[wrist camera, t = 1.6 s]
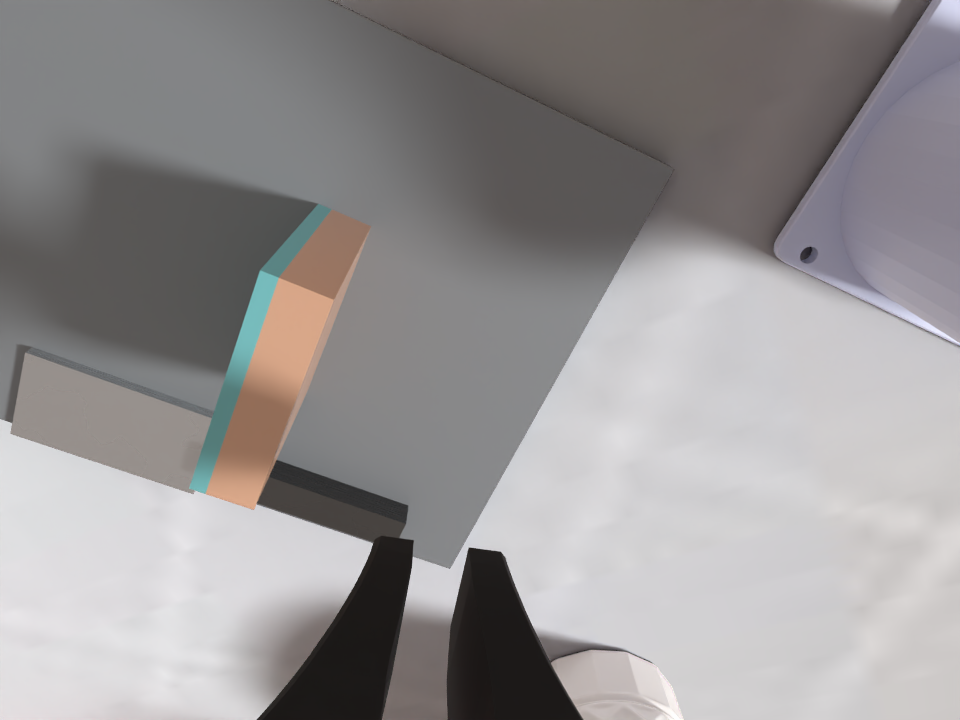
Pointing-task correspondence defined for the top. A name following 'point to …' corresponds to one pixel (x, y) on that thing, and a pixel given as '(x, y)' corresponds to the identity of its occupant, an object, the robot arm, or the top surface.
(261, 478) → the tile
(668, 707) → the white cup
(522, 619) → the robot arm
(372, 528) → the bar
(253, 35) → the board
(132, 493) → the top surface
